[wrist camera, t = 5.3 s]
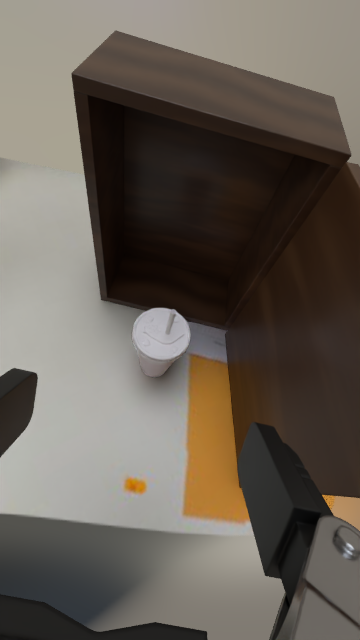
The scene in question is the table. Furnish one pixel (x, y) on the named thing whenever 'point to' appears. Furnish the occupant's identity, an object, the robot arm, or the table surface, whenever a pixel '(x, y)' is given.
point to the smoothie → (160, 339)
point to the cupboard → (196, 174)
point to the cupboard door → (307, 344)
